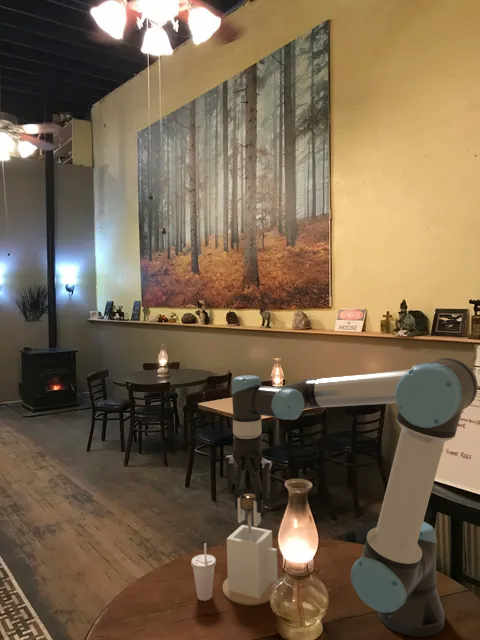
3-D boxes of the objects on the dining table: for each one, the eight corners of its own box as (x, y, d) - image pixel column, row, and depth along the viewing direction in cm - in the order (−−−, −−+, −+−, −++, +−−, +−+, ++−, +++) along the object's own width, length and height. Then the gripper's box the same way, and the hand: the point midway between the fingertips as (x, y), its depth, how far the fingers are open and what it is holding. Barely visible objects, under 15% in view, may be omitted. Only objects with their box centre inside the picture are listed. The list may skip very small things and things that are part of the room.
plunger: (265, 574, 137) (263, 494, 136) (255, 585, 132) (254, 502, 131) (245, 569, 140) (243, 491, 139) (236, 580, 134) (234, 498, 134)
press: (287, 580, 139) (286, 528, 139) (265, 611, 126) (263, 553, 125) (238, 568, 146) (237, 518, 145) (212, 596, 133) (211, 541, 132)
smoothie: (213, 605, 129) (211, 550, 128) (189, 602, 130) (187, 548, 130) (219, 590, 135) (218, 538, 135) (196, 588, 136) (194, 537, 136)
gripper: (282, 434, 134) (284, 522, 135) (225, 428, 141) (227, 511, 142) (271, 442, 127) (273, 534, 128) (212, 435, 135) (214, 522, 136)
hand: (249, 522), depth 135 cm, fingers closed on plunger, 4 cm apart
